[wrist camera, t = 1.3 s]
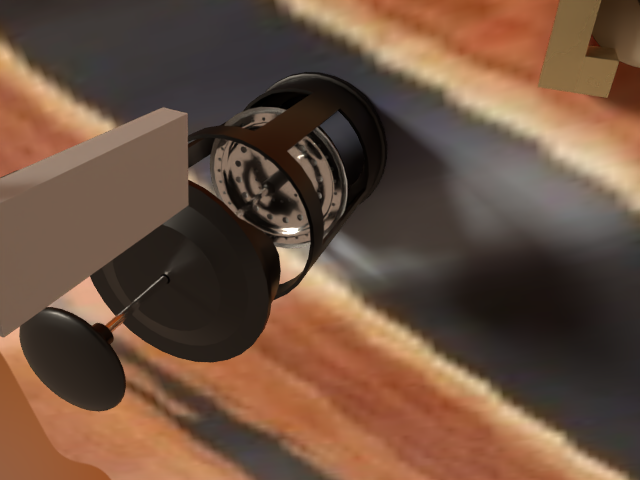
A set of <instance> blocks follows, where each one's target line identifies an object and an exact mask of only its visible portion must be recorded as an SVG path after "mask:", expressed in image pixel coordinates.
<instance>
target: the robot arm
mask: <svg viewBox="0 0 640 480" xmlns="http://www.w3.org/2000/svg"><path fill="white" fill-rule="evenodd" d="M187 206H188V115H187V113H183V112H179V111H175V110H171V109H167V108H161V109H158V110H156V111H154V112H151V113H149V114H147V115H144V116H142V117H140V118H138V119H135V120H133V121H131V122H128V123H126V124H124V125H122V126H119V127H117V128H115V129H112V130H110V131H108V132H105V133H103V134H101V135H99V136H96V137H94V138H92V139H89V140H87V141H85V142H83V143H80V144H78V145H76V146H73V147H71V148H69V149H66V150H64V151H62V152H60V153H57V154H55V155H53V156H50V157H48V158H46V159H44V160H41V161H39V162H37V163H34V164H32V165H30V166H27V167H25V168H23V169H21V170H17V171H15V172H12V173H10V174H8V175H5V176H3V177H1V178H0V336H1V337H5V336H7V335H8V334H10V333H11V332H12V331H14V330H15V329H17V328H18V327H19V326H21V325H22V324H24V323H25V322H26V321H28V320H29V319H31V318H32V317H33V316H35V315H36V314H37V313H39V312H40V311H42V310H43V309H44V308H46V307H47V306H49V305H50V304H51V303H53V302H54V301H56V300H57V299H58V298H60V297H61V296H63V295H64V294H65V293H67V292H68V291H70V290H71V289H72V288H74V287H75V286H77V285H78V284H79V283H81V282H82V281H83V280H85V279H86V278H88V277H89V276H90V275H92V274H93V273H95V272H96V271H97V270H99V269H100V268H102V267H103V266H104V265H106V264H107V263H109V262H110V261H111V260H113V259H114V258H116V257H117V256H118V255H120V254H121V253H123V252H124V251H125V250H127V249H128V248H130V247H131V246H132V245H134V244H135V243H136V242H138V241H139V240H141V239H142V238H143V237H145V236H146V235H148V234H149V233H150V232H152V231H153V230H155V229H156V228H157V227H159V226H160V225H162V224H163V223H164V222H166V221H167V220H169V219H170V218H171V217H173V216H174V215H176V214H177V213H178V212H180V211H181V210H182V209H184V208H185V207H187Z"/></svg>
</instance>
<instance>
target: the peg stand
mask: <svg viewBox="0 0 640 480" xmlns="http://www.w3.org/2000/svg"><path fill="white" fill-rule="evenodd" d="M592 35H593V37H594V39H595V40H596V41H597V43H598V44H599V45H600V46H601V47H605V48H613V49H615V50H616V53H617V56H618V59H619V61H621V62H623V63H625V64H628V65H631V66H634V67H639V68H640V0H601V3H600V7H599V10H598V14H597V17H596V20H595V24H594V27H593V31H592Z"/></svg>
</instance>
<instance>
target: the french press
mask: <svg viewBox="0 0 640 480" xmlns="http://www.w3.org/2000/svg"><path fill="white" fill-rule="evenodd" d="M302 95H309V96H307V97H306V98H304V99H303V100H301V101H300V102H298V103H297V104H295V105H294V106H292V107H291V108H289V109H282V108H279V107H280V105H281V104H283V103H284V102H285V101H287V100H289V99H291V98H294V97H297V96H302ZM337 111H339V112H340V113H341V114H342V115H343V116H344V117H345V118H346V119H347V120H348V121H349V123H350V125H351V126H352V128H353V129H354V131H355V132H356V134H357V136H358V138H359V141H360V143H361V145H362V148H363V153H364V157H365V160H364V165H363V169H362V171H361V174H360V176H359V178H358V179H357V180H356V182H355V183H354V184H353V185H352V186H351V187H350V188H347V176H346V172H345V167H344V163H343V161H342V159H341V157H340V154H339V152H338V150H337V148H336V147H335V145H334V143H333V142H332V140H331V139H330V137H329V136H328V135H327V134H326V133H325V131H324V130H323V129H322V128H321V127H320V125H321V124H322V123H323V122H325V121H326V120H327V119H328V118H330V117H331V116H332V115H333V114H334V113H336V112H337ZM195 139H196V140H195ZM191 140H194V141H193V142H191V143H189V144H188V168H189V167H191V166H193V165H194V164H196V163H197V162H199V161H200V160H202V159H203V158H205V157H207V156H208V155H210V154H211V155H210V172H211V179H212V183H213V187H214V190H215V193H216V195H217V197H218V198H217V197H216V196H215V195H213V194H212V193H210V192H209V191H208V190H206V189H205V188H203V187H201V186H200V185H198V184H196V183H194V182H192V181H190V180H188V206H187V207H185V208H184V209H182V210H181V211H180V212H178V213H177V214H176V215H174V216H173V217H171V218H170V219H169V220H167V221H166V222H164V223H163V224H162V225H160V226H159V227H157V228H156V229H155V230H153V231H152V232H150V233H149V234H148V235H146V236H145V237H143V238H142V239H141V240H139V241H138V242H136V243H135V244H134V245H132V246H131V247H130V248H128V249H127V250H125V251H124V252H123V253H121V254H120V255H118V256H117V257H116V258H114V259H113V260H111V261H110V262H109V263H107V264H106V265H104V266H103V267H102V268H100V269H99V270H97V271H96V272H95V273H93V274H92V275H90V277H91V279H92V282H93V284H94V286H95V288H96V289H97V291H98V293H99V294H100V296H101V297H102V299H103V301H104V302H105V303H106V305H107V306H108V307H109V308H110V310H111V311H112V312H113V313H114V315H115V317H114V318H113V319H112V320H111V321H110V322H108V323H107V324H106V325H103V324H101V323H96V324H94V325H93V326H91V325H90V324H89V323H87V322H86V321H85V320H83V319H82V318H80V317H78V316H76V315H74V314H73V313H70V312H68V311H65V310H63V309H58V308H53V307H46V308H44V309H43V310H42V311H40V312H39V313H37V314H36V315H35V316H33V317H32V318H31V319H29V320H28V321H26V322H25V323H24V324H22V325H21V326H20V336H19V337H20V343H21V347H22V350H23V353H24V355H25V357H26V359H27V361H28V363H29V365H30V367H31V368H32V370H33V371H34V372H35V374H36V375H37V376H38V378H39V379H40V380H41V381H42V382H43V383H44V384H45V385H46V386H47V387H48V388H49V389H50V390H51V391H52V392H54V393H55V394H56V395H58V396H59V397H60V398H62V399H64V400H65V401H67V402H69V403H71V404H73V405H75V406H77V407H80V408H83V409H86V410H90V411H105V410H108V409H111V408H113V407H115V406H117V405H118V404H119V403H120V402H121V400H122V398H123V397H124V393H125V388H126V380H125V374H124V370H123V367H122V365H121V362H120V360H119V358H118V356H117V354H116V353H115V351H114V350H113V348H112V347H111V345H110V344H111V343H112V342H113V339H114V338H113V334H112V332H113V331H114V330H115V329H116V328H117V327H118V326H119V325H121V324H122V323H123V324H124V325H125V326H126V327H127V328H128V329H129V330H130V331H132V332H133V333H134V334H136V335H137V336H138V337H140V338H141V339H142V340H144V341H145V342H147V343H148V344H150V345H152V346H154V347H155V348H157V349H159V350H161V351H163V352H165V353H168V354H170V355H173V356H175V357H178V358H182V359H186V360H191V361H195V362H217V361H224V360H228V359H231V358H233V357H235V356H238V355H240V354H242V353H243V352H244V351H246V350H247V349H248V348H249V347H251V346H252V345H253V344H254V343H255V341H256V340H257V338H258V337H259V336H260V334H261V333H262V332H263V330H264V329H265V326H266V323H267V321H268V318H269V315H270V309H271V303H272V301H273V300H275V299H277V298H279V297H282V296H284V295H286V294H288V293H289V292H290V291H291V290H292V289H294V288H295V287H296V286H297V285H298V284H299V283H300V282H301V280H302V279H303V278H304V276H305V275H306V274H307V272H308V271H309V270H310V268H311V267H312V266H313V264H314V263H315V262H316V260H317V259H318V258H319V256H320V255H321V254H322V252H323V251H324V250H325V249H326V247H327V246H328V245H329V243H330V242H331V241H332V239H333V238H334V237H335V235H336V234H337V233H338V231H339V230H340V229H341V227H342V226H343V225H344V223H345V222H346V221H347V219H348V218H349V217H350V215H351V214H352V213H353V211H354V210H355V209H356V207H357V206H358V205H359V204H361V203H362V202H363V201H364V200H365V199H366V198H368V197H369V196H370V195H371V193H372V192H373V191H374V189H375V188H376V187H377V185H378V184H379V182H380V179H381V177H382V175H383V173H384V169H385V164H386V160H387V142H386V137H385V132H384V128H383V126H382V123H381V121H380V118H379V116H378V114H377V112H376V111H375V109H374V108H373V106H372V105H371V103H370V102H369V101H368V100H367V99H366V98H365V97H364V95H363V94H362V93H361V92H360V91H358V90H357V89H356V88H354V87H353V86H352V85H350V84H349V83H348V82H345V81H343V80H341V79H339V78H337V77H335V76H331V75H327V74H323V73H317V72H304V73H299V74H293V75H290V76H288V77H286V78H284V79H281V80H279V81H278V82H276V83H275V84H274V85H272V86H271V87H270V88H268V89H267V91H266V92H265V93H264V94H262V95H260V96H259V97H257V98H256V99H255V100H253V101H252V102H251V103H249V104H248V106H247V107H246V108H245V109H244V111H243V112H241V113H239V114H237V115H235V116H234V117H233V118H231V119H230V120H229V121H227V122H225V123H224V124H222V125H220V126H214V127H208V128H204V129H202V130H199V131H197V132H195V133H192V134H190V135H189V136H188V142H189V141H191ZM309 245H310V250H309V257H308V260H307V263H306V265H305V268H304V270H303V272H301V273H300V274H299V275H298V276H297V277H296V278H294V279H292V280H290V281H288V282H286V283H283V284H279V280H280V272H281V270H280V260H279V254H278V252H277V249H276V247H283V248H301V247H305V246H309ZM275 246H276V247H275Z"/></svg>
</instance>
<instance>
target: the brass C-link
mask: <svg viewBox="0 0 640 480" xmlns="http://www.w3.org/2000/svg"><path fill="white" fill-rule="evenodd" d="M600 3H601V0H559V4H558V8H557V12H556V16H555V20H554V24H553V27H552V31H551V35H550V39H549V43H548V47H547V51H546V55H545V58H544V62H543V66H542V70H541V74H540V79H539V83H538V87H541V88H548V89H554V90H560V91H567V92H573V93H579V94H586V95H592V96H598V97H605V98H608V95H609V92H610V89H611V86H612V82H613V79H614V76H615V73H616V70H617V67H618V64H619V59H618V56H617V53H616V50H615V49H613V48H605V47H598V46H591V45H588V44H589V41H590V38H591V34H592V31H593V27H594V24H595V20H596V17H597V14H598V10H599V7H600Z"/></svg>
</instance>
